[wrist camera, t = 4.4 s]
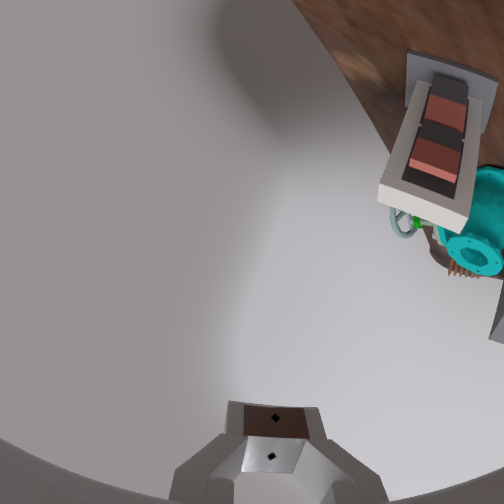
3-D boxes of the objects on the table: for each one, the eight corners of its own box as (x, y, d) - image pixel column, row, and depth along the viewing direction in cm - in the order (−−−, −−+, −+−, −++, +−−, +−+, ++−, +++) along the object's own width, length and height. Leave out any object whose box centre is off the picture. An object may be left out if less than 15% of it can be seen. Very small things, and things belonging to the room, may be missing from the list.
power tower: (483, 129, 42) (465, 250, 36) (406, 101, 49) (363, 208, 43) (497, 78, 32) (496, 200, 25) (408, 49, 39) (364, 150, 32)
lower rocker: (467, 90, 36) (461, 135, 35) (433, 79, 38) (423, 121, 37) (468, 85, 35) (463, 130, 34) (434, 74, 37) (424, 116, 36)
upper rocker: (460, 140, 34) (454, 183, 30) (422, 126, 37) (408, 166, 33) (462, 133, 34) (457, 175, 30) (423, 119, 36) (410, 158, 32)
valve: (505, 283, 46) (394, 254, 72) (523, 213, 49) (421, 199, 74) (498, 241, 39) (368, 217, 65) (515, 165, 42) (399, 160, 67)
